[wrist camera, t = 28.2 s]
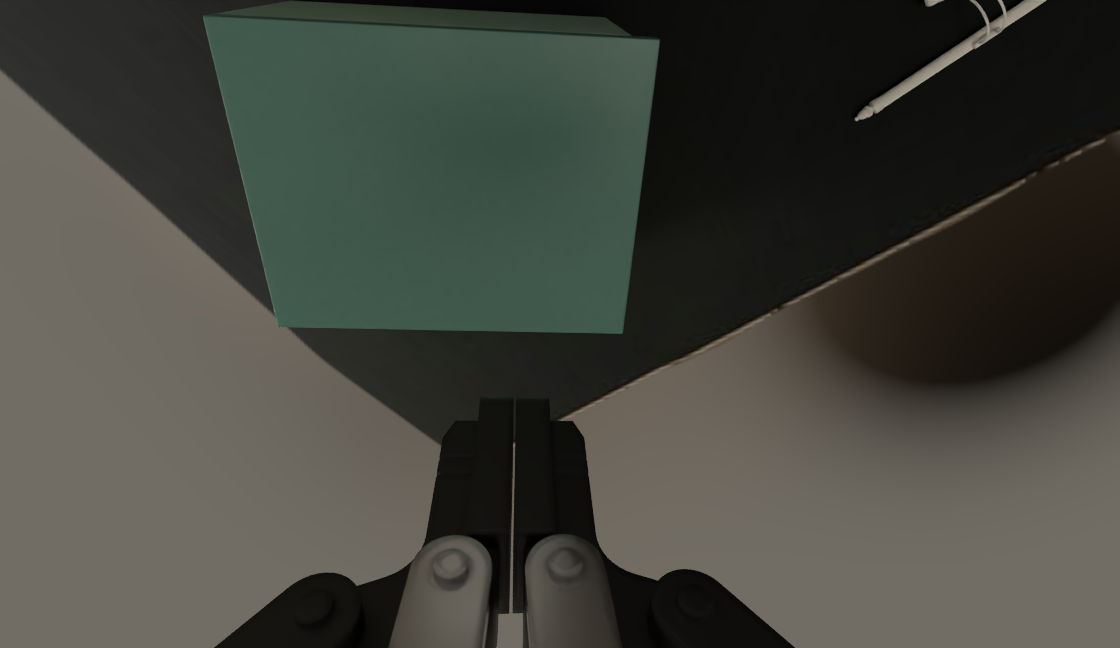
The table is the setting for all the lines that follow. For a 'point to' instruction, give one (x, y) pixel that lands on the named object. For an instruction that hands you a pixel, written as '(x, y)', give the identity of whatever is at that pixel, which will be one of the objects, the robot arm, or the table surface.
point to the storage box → (434, 17)
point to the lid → (439, 170)
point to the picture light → (951, 53)
